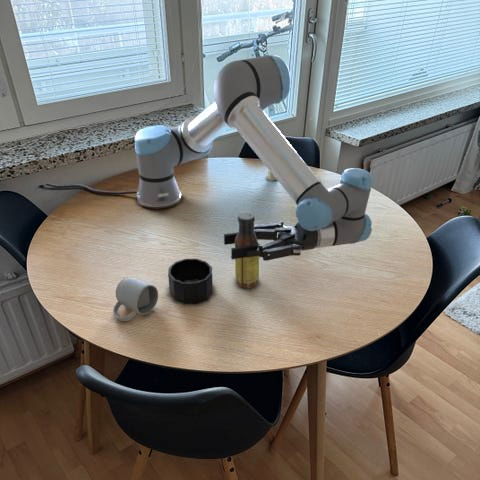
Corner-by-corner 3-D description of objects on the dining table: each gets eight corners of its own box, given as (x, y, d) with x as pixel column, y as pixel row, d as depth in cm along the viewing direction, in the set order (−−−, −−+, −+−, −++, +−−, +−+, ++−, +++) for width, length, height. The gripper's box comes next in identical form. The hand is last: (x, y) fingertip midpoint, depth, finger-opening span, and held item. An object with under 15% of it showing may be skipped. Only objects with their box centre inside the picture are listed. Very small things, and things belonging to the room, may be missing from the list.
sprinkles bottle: (266, 175, 171) (269, 140, 162) (278, 176, 171) (281, 141, 162) (267, 180, 168) (269, 145, 159) (279, 181, 168) (282, 145, 159)
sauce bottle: (262, 279, 119) (265, 212, 106) (252, 292, 115) (255, 224, 102) (240, 273, 121) (241, 207, 108) (230, 285, 117) (230, 218, 104)
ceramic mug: (136, 293, 113) (131, 268, 108) (160, 304, 110) (156, 279, 105) (106, 315, 107) (99, 291, 102) (131, 328, 103) (125, 303, 98)
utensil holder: (162, 296, 113) (159, 275, 108) (185, 274, 120) (183, 254, 116) (198, 309, 109) (197, 288, 105) (220, 285, 116) (219, 265, 112)
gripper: (326, 266, 110) (238, 280, 104) (297, 229, 123) (218, 240, 118) (331, 240, 105) (239, 253, 100) (300, 204, 119) (218, 215, 113)
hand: (228, 246), depth 109 cm, fingers closed on sauce bottle, 6 cm apart
